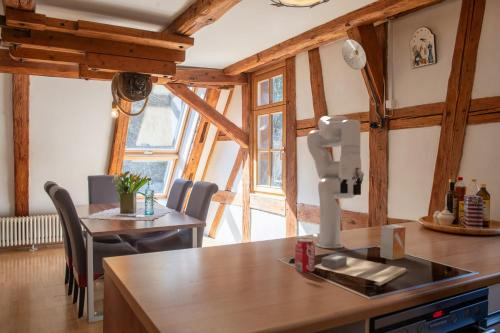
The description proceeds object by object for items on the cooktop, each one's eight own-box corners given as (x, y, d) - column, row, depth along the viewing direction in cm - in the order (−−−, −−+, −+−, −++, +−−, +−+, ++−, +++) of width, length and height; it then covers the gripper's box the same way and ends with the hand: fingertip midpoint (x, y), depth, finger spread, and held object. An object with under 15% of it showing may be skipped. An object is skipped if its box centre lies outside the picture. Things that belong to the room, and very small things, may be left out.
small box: (392, 260, 165) (393, 228, 165) (379, 257, 170) (380, 226, 170) (405, 257, 170) (405, 226, 169) (392, 254, 175) (393, 224, 174)
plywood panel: (312, 269, 150) (312, 266, 150) (342, 258, 167) (342, 255, 167) (379, 285, 133) (380, 282, 133) (405, 271, 149) (405, 268, 149)
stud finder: (321, 266, 151) (321, 257, 151) (332, 261, 157) (332, 253, 157) (335, 269, 147) (335, 260, 147) (346, 264, 153) (346, 256, 153)
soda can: (316, 271, 149) (316, 238, 148) (312, 276, 142) (313, 242, 142) (297, 269, 151) (297, 236, 151) (292, 274, 144) (293, 240, 144)
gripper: (331, 151, 170) (331, 192, 170) (354, 150, 153) (353, 195, 153) (347, 151, 172) (347, 192, 172) (371, 150, 155) (371, 195, 155)
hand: (350, 194), depth 162 cm, fingers open, 9 cm apart
